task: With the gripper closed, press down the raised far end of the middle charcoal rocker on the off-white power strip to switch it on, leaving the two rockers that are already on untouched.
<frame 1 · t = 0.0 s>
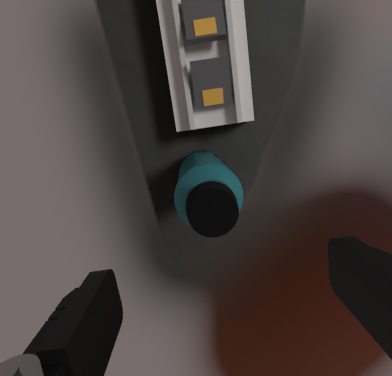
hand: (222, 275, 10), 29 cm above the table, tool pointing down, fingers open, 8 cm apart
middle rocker: (203, 16, 29), point 5 cm above the table, hinge at -15.0°
power strip: (201, 32, 34), on the table
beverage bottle: (201, 170, 39), on the table
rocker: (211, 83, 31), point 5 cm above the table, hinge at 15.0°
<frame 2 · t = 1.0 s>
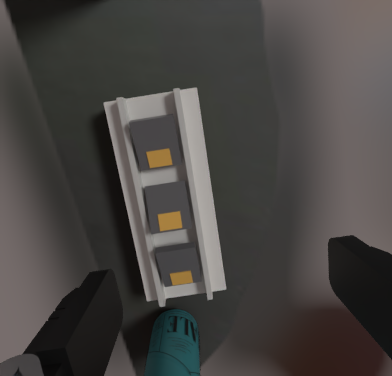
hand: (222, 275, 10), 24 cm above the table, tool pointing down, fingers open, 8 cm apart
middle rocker: (168, 207, 29), point 5 cm above the table, hinge at -15.0°
power strip: (171, 196, 34), on the table
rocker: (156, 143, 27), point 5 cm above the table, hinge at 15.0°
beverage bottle: (176, 319, 38), on the table
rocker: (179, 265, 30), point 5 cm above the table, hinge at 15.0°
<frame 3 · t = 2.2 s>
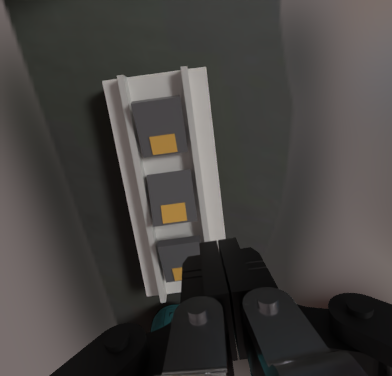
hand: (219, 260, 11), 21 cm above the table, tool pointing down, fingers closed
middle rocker: (172, 197, 27), point 5 cm above the table, hinge at -15.0°
power strip: (174, 186, 31), on the table
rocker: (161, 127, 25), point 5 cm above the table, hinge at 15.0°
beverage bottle: (176, 314, 36), on the table
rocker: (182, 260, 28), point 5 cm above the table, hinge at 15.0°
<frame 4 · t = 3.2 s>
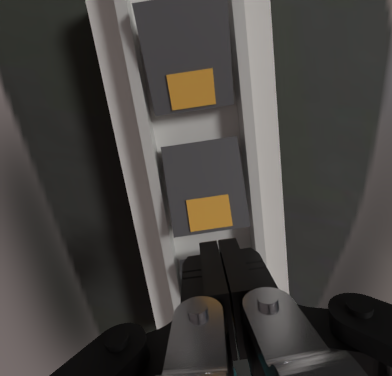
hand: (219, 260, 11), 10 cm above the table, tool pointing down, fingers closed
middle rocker: (205, 186, 15), point 5 cm above the table, hinge at -15.0°
power strip: (201, 171, 20), on the table
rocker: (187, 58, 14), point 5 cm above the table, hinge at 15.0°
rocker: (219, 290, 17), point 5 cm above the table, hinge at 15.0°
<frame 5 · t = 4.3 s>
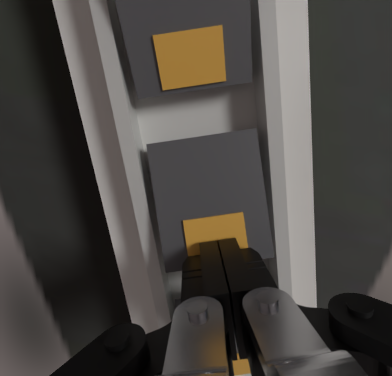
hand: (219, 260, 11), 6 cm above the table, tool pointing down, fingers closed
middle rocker: (210, 200, 11), point 5 cm above the table, hinge at -12.9°, touching gripper
power strip: (203, 175, 16), on the table
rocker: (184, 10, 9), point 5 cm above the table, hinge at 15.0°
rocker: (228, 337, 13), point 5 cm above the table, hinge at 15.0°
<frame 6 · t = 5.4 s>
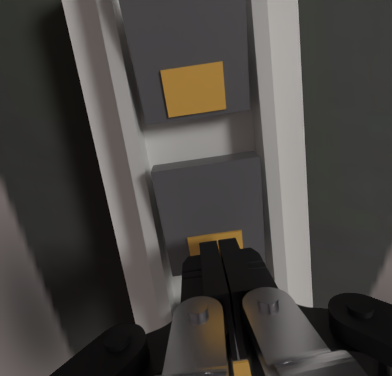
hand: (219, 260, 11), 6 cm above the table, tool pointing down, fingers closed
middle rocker: (211, 216, 12), point 5 cm above the table, hinge at 8.4°
power strip: (205, 190, 17), on the table
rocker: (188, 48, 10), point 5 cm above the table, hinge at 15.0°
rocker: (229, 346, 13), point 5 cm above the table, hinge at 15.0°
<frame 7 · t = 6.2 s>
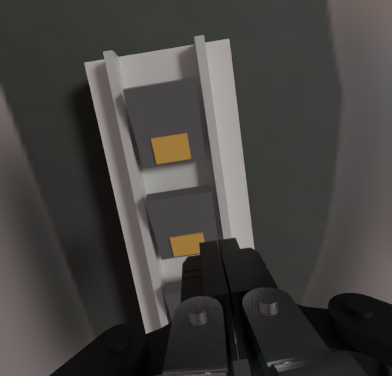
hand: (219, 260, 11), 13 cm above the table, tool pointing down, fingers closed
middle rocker: (184, 224, 19), point 5 cm above the table, hinge at 17.5°
power strip: (186, 205, 24), on the table
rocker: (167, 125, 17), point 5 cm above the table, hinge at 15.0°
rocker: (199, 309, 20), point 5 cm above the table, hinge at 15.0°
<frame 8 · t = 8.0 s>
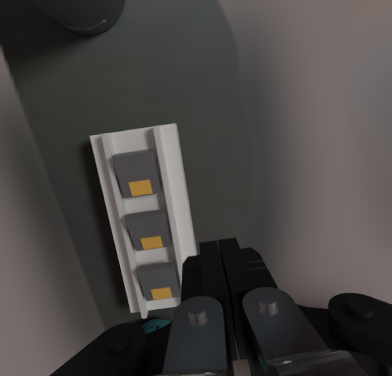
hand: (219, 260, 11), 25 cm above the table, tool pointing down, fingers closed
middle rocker: (149, 231, 32), point 5 cm above the table, hinge at 20.3°
power strip: (154, 216, 37), on the table
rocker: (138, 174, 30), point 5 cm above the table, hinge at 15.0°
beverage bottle: (159, 326, 41), on the table
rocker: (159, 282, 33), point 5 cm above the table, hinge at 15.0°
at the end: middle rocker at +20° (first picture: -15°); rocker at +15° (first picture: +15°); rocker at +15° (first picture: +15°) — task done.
